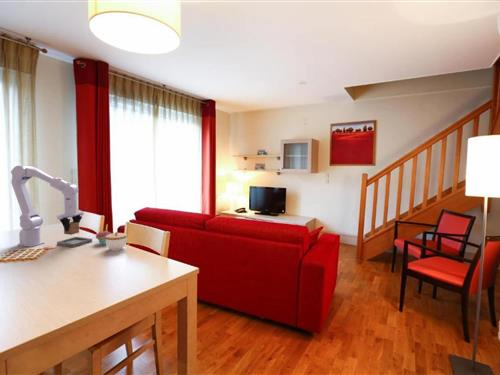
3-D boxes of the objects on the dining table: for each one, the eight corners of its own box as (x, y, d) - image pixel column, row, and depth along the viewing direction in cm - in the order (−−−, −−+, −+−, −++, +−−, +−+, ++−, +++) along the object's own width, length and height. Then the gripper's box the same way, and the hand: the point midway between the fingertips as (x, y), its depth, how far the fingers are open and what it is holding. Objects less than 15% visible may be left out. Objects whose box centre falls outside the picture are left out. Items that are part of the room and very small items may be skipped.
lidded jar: (118, 253, 141) (118, 235, 140) (100, 251, 143) (100, 233, 142) (131, 247, 151) (131, 230, 150) (114, 245, 153) (114, 229, 153)
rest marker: (40, 248, 143) (40, 248, 143) (51, 245, 149) (51, 245, 149) (48, 250, 142) (48, 249, 142) (59, 246, 148) (59, 246, 148)
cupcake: (115, 241, 160) (115, 222, 159) (106, 245, 152) (106, 225, 151) (102, 241, 161) (101, 221, 160) (92, 245, 153) (92, 224, 152)
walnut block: (64, 233, 151) (63, 223, 150) (72, 231, 155) (72, 221, 155) (71, 234, 149) (70, 224, 149) (79, 232, 154) (78, 222, 153)
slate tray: (57, 244, 151) (56, 241, 151) (76, 239, 162) (76, 236, 162) (73, 247, 147) (73, 244, 147) (92, 241, 159) (91, 238, 159)
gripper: (63, 208, 143) (64, 233, 144) (87, 204, 157) (87, 227, 158) (54, 207, 145) (54, 232, 146) (78, 204, 159) (78, 226, 160)
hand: (71, 229), depth 152 cm, fingers closed on walnut block, 5 cm apart
